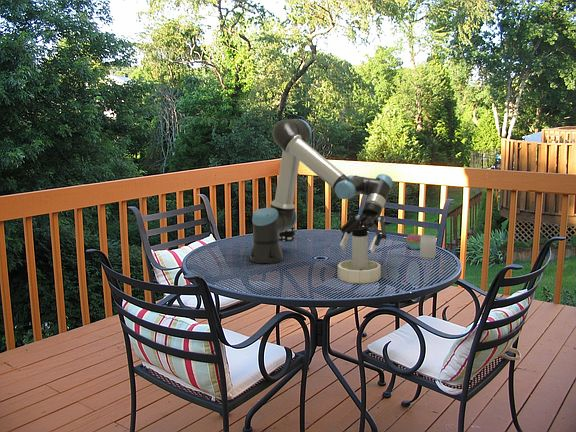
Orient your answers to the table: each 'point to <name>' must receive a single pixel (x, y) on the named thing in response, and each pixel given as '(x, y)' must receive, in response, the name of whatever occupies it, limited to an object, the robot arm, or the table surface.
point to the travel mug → (359, 248)
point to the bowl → (359, 272)
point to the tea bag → (428, 246)
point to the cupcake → (414, 240)
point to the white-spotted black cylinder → (287, 234)
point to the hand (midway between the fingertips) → (356, 249)
